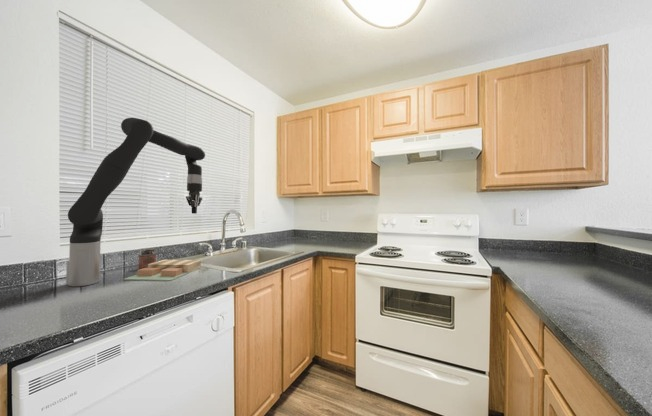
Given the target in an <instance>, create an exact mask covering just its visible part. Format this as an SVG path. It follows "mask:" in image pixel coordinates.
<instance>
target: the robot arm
mask: <svg viewBox="0 0 652 416" xmlns="http://www.w3.org/2000/svg"><path fill="white" fill-rule="evenodd" d="M120 128H121V131H122V132H123V134H124V135H126V137H125V139H124V140H123V142H121V144H120V145H118V147H116V148H115V149H114V150H112V151H111V152H109V153H108V154H107V155H106V156H105V157H104V158H103V160H102V161H101V162H100V164H99V166H98V167H97V169H96V171H95V173H94V174H93V175H92V178H91V179H90V180H89V182H88V184H87V186H86V188H85V190H84V191H83V192H82V194H81V195H80V196H79V197H78V199H77V200H76V201H75V202H74V203H73V204H72V206H71V207H70V208H69V209H68V213H67V218H68V221H69V222H70V223H71V224H72V232H71V234H70V236H69V252H68V254H69V258H68V259H69V260H68V261H66V273H65V275H66V276H65V277H66V279H65V282H66V283H65V285H66V286H68V287H83V286H89V285H90V286H91V285H94V284H97V283H100V279H101V278H100V276H101V275H100V274H101V273H100V272H101V237H102V234H103V223H104V214H103V210H102V207H103V205H104V203H105V202H106V200H107V198H108V197H109V196H110V195H111V194H112V193H113V192H114V191H115V190H116V189H117V188H118V187H119V186H120V184H121V183H122V182H123V181H124V179H125V177H126V176H127V174H128V173H129V170H130V168H131V167H132V165H133V163H134V162H135V160H136V159H137V158H138V156H139V154H140V153H141V152H142V150H143V148H144V147H145V146H146V145H147V144H148V143H151V144H154V145H157V146H159V147H161V148H164V149H166V150H168V151H170V152H173V153H176V154H177V155H181V156H184V157H185V162H186V166H187V177H186V191H187V192H188V196H185V199H186V201H187V204H188V205H189V206H190V207H191V214H195V215H196V214H197V213H198V207H200V205H201V202H202V200H203V197H201V194H200V192H203V191H202V190H203V176H202V175H203V173H202V172H203V171H202V170H203V169H202V166H201V165H200V164H198V162H197V161H202V160H203V159H205V158H206V152H205V150H204V149H203V148H201V147H199V146H197V145H194V144H190V143H186V142H185V141H182V140H180V139H178V138H177V137H176V138H175V137H173V136H169V135H167V134H165V133H162V132H159V131H158V130H154V127H153V125H152V124H151V122H149V121H148V120H146V119H143V118H142V119H141V118H137V117H126V118H125V119H123V120H122V121H121V124H120Z"/></svg>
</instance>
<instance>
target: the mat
mask: <svg viewBox="0 0 652 416" xmlns="http://www.w3.org/2000/svg"><path fill="white" fill-rule="evenodd" d="M188 274H189V273H188V272H182V274H180V275H177V276H161V272H160V273H159V274H156V275H153V276H137V274H135V275H132V276H128V277H126V278H124V279H123V281H149V282H150V281H154V282H155V281H157V282H160V281H162V282H172V281H174V280H176V279H180V278H182V277H183V275H184V276H186V275H188Z"/></svg>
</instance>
